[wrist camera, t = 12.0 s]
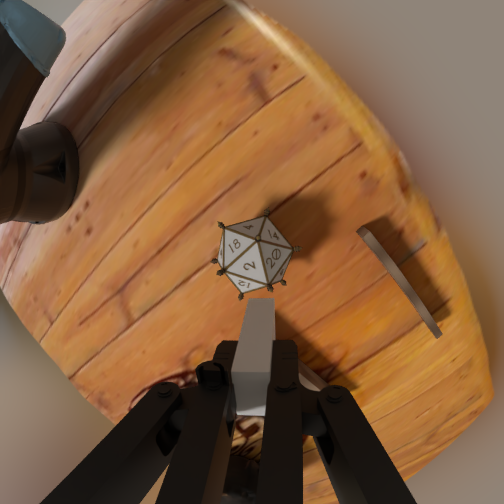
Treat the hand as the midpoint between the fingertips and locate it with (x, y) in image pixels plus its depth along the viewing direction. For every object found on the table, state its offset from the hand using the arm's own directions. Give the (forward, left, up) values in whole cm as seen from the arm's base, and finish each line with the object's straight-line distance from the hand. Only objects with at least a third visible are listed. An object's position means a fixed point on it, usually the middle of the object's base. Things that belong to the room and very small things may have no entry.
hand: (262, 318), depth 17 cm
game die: (-1, -1, -16) cm, 16 cm away
